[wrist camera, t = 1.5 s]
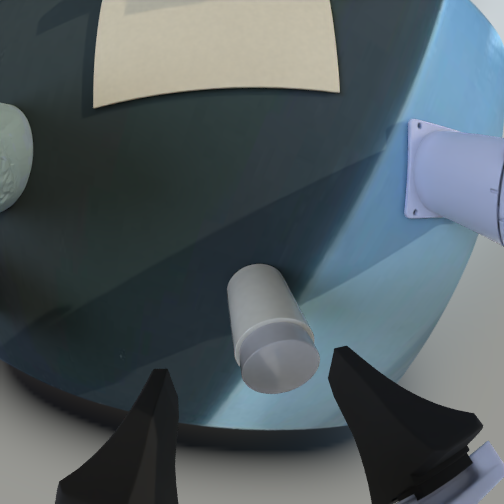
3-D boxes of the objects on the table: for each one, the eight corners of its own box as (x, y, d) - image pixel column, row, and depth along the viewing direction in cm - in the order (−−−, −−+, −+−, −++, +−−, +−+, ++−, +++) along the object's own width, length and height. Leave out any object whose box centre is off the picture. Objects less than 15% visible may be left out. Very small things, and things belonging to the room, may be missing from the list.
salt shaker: (286, 260, 19) (329, 329, 12) (285, 311, 21) (318, 388, 14) (224, 266, 19) (234, 343, 11) (229, 318, 20) (240, 401, 13)
